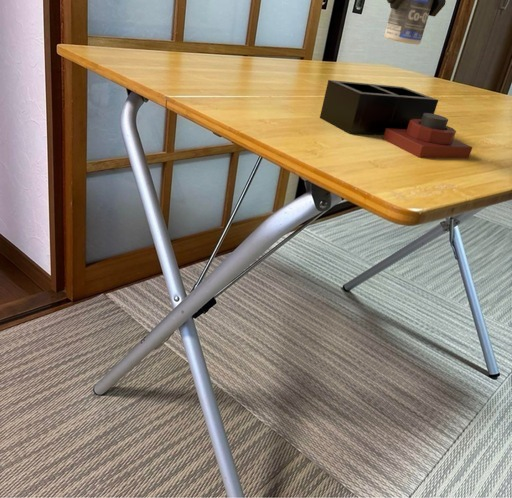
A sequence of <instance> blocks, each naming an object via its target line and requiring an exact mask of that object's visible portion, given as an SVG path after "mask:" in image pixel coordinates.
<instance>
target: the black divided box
mask: <svg viewBox="0 0 512 498" xmlns="http://www.w3.org/2000/svg"><path fill="white" fill-rule="evenodd" d="M438 103H439V99H437V98H435V97H431V96H429V95H426V94H424V93H421V92H418V91H415V90H412V89H410V88H407V87H404V86H398V85H397V86H396V85H386V84H376V83H364V82H355V81H345V80H333V79H328V80H327V84H326V89H325V93H324V97H323V102H322V106H321V110H320V114H319V119H321V120H322V121H324V122H326V123H328V124H330V125H331V126H334V127H336V128H338V129H339V130H341V131H343V132H344V133H347V134H348V135H353V136H354V135H357V136H382V137H383V136H384V133H385V130H386V128H390V129H407V128H408V125H409V122H410V120H412V119H422V116H423V114H424V113H431V114H435V113H436V109H437V106H438Z"/></svg>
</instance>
